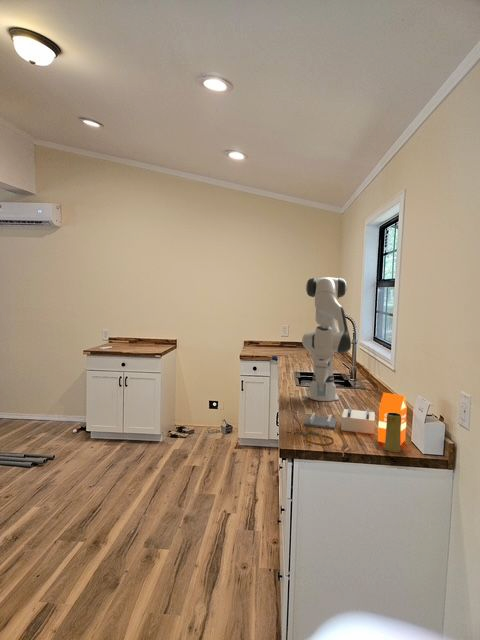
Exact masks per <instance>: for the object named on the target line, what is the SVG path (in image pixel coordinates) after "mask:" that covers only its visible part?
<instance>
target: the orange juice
mask: <svg viewBox="0 0 480 640" xmlns="http://www.w3.org/2000/svg"><path fill="white" fill-rule="evenodd" d="M407 409H408V407H407V404H406V397H405V395H402V394H401V395H400V394H393V393H389V392H383V394H382V397H381V401H380V404H379V410H378V412H379V413H378V429H377V430H378V431H377V432H378V433H377V434H378V436H377V441H378V442H379V443H384V444H385V437H386V424H387V413H389V412H394V413H399V414H401V445H403V444H404V443H405V442H406V433H407V432H406V430H407V411H408V410H407ZM404 441H405V442H404ZM403 442H404V443H403ZM402 443H403V444H402Z"/></svg>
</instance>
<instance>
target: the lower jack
mask: <svg viewBox="0 0 480 640" xmlns="http://www.w3.org/2000/svg"><path fill="white" fill-rule="evenodd" d="M337 423H338V417H337V418H336V417H333V415H332V414H329V415H328V417H327V416H318V415H317V416H316V412H314V411H313V412H312V414H311V415H307V416H306V419H305V421H304V422H303V426H305V427H311V428H314V427H315V428H322V429H330V430H335V429H336V427H337Z"/></svg>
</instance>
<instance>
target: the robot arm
mask: <svg viewBox="0 0 480 640" xmlns="http://www.w3.org/2000/svg"><path fill="white" fill-rule="evenodd" d="M347 289H348V285H347V281H346V280H345V279H344V278H342V277H337V278H336V277H318V278H317V277H316V278H315V277H314V278H313V277H312V278H308V280H307V281H306V284H305V292H306V294H307V296H308V297H312V298H314V307H315V322H316V324H318V326H317V327H316V328H315V331H309V332H305V333H304V334H303V336H302V339H301V343H302V345H303V348H305V350H307V351H308V352H309V354H310V355H311V357H312V360H313V374H312V381H311V382H310V383H309V393H308V394H306V398H309V399H311V400H315V401H320V402H331V401H332V402H333V401H340V397H339V396H338V393H337V389H336V388H337V385H336V383H335V381H334V379H335V376H334V361H333V359H334V358H333V357H334V354H333V353H338V354H346V353H347V352H349V351H350V350H351V348H352V338H351V336H350V332H349V327H348V324H347V323H348V322H347V317H346V314H345V311H344V307H343V305H341V304H340V303H339V302H338V300H339V299H340V298H342V297H344V296H345V294H346V293H347ZM324 382H327V395H326V397H324V396H317V383H318V384H319V391H323V385H324Z"/></svg>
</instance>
